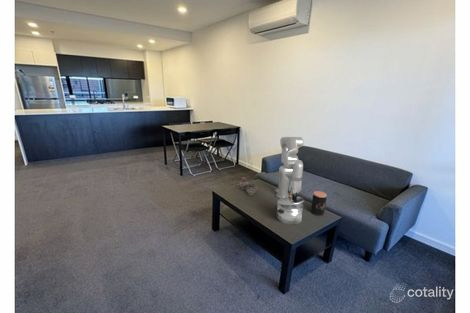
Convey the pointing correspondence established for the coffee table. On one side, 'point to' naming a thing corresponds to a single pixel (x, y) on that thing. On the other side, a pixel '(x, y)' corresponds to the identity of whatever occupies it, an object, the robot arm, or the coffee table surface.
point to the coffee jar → (318, 203)
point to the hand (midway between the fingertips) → (294, 200)
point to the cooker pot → (289, 213)
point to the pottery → (251, 188)
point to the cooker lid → (290, 201)
